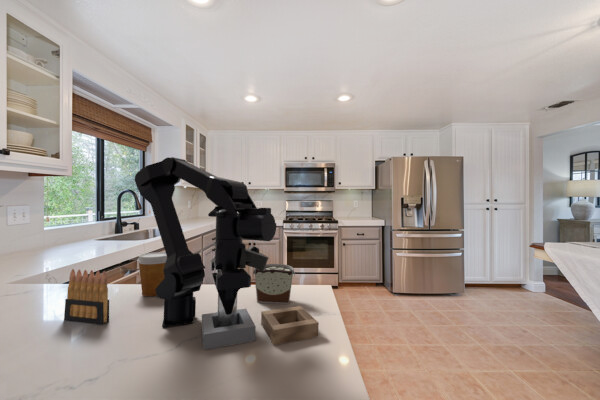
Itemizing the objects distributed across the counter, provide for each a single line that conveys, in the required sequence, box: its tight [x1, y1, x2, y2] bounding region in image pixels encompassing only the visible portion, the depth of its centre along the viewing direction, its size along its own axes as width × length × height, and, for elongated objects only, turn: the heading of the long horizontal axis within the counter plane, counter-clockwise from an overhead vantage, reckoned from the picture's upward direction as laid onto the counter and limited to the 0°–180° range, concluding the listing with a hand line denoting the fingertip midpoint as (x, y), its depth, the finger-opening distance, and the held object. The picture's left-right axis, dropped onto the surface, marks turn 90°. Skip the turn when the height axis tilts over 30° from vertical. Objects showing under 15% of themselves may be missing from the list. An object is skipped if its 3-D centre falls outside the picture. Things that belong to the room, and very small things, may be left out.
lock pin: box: [217, 293, 238, 328], centre depth 57 cm, size 4×4×9 cm
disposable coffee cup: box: [137, 251, 167, 297], centre depth 82 cm, size 10×10×12 cm
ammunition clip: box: [63, 268, 110, 326], centre depth 62 cm, size 11×2×12 cm, turn 80°
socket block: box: [201, 308, 256, 351], centre depth 57 cm, size 10×10×3 cm
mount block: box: [260, 305, 320, 346], centre depth 59 cm, size 10×10×3 cm
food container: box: [252, 263, 296, 305], centre depth 79 cm, size 12×6×10 cm, turn 84°
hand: (227, 310), depth 57 cm, fingers closed on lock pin, 4 cm apart
